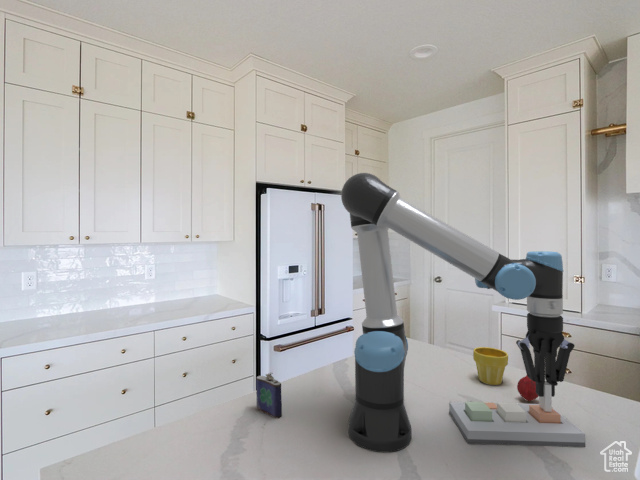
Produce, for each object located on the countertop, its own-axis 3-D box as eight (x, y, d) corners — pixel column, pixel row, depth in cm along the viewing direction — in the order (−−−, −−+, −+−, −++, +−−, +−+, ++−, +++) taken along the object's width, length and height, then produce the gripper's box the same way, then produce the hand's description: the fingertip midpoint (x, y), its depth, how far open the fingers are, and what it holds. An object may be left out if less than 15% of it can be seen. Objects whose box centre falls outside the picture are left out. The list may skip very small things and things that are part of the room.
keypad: (467, 443, 81) (467, 429, 81) (449, 412, 95) (449, 400, 95) (585, 446, 79) (585, 432, 79) (548, 415, 93) (548, 403, 93)
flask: (254, 408, 98) (254, 370, 98) (262, 404, 100) (262, 367, 100) (277, 419, 92) (277, 379, 92) (285, 415, 94) (285, 375, 94)
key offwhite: (505, 424, 85) (505, 411, 85) (496, 414, 90) (496, 402, 89) (526, 424, 84) (526, 412, 84) (516, 414, 89) (516, 402, 89)
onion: (544, 406, 98) (544, 378, 98) (521, 405, 99) (521, 377, 99) (535, 397, 104) (535, 370, 103) (514, 395, 105) (514, 369, 105)
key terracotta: (539, 426, 84) (539, 414, 84) (529, 416, 89) (529, 404, 89) (560, 427, 84) (560, 414, 84) (548, 417, 89) (548, 405, 89)
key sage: (472, 423, 85) (472, 410, 85) (465, 413, 90) (465, 401, 90) (492, 423, 85) (492, 411, 85) (484, 413, 90) (484, 402, 90)
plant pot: (509, 378, 117) (509, 349, 117) (506, 390, 108) (506, 359, 108) (475, 372, 123) (475, 344, 123) (470, 383, 114) (470, 353, 114)
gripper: (525, 317, 83) (526, 416, 83) (582, 317, 82) (583, 417, 82) (510, 310, 90) (510, 401, 91) (562, 310, 90) (563, 402, 90)
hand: (545, 408), depth 86 cm, fingers closed
